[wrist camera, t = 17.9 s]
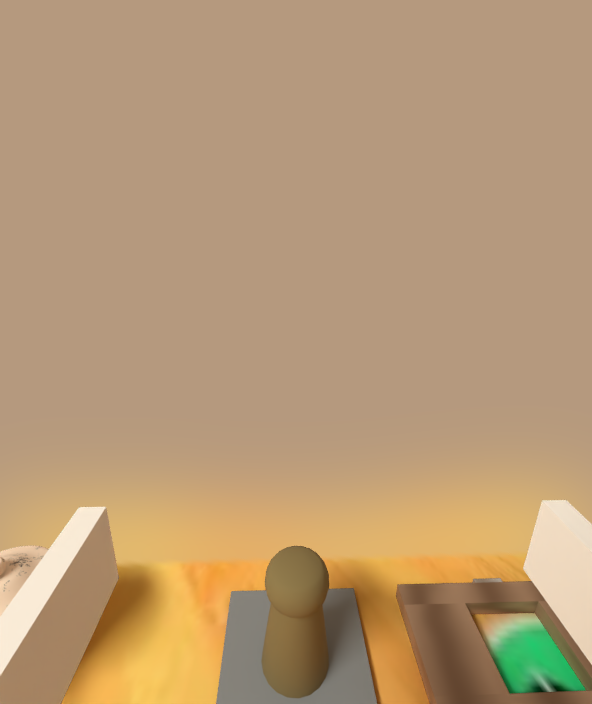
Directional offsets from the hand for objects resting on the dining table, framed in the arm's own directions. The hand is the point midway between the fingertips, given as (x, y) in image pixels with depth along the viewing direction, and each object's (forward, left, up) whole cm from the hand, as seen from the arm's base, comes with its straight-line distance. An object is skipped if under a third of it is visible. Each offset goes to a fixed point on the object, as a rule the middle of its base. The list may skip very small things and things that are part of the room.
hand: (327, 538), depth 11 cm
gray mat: (0, -14, -28) cm, 31 cm away
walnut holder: (-21, -14, -28) cm, 38 cm away
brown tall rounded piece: (0, -14, -28) cm, 31 cm away
